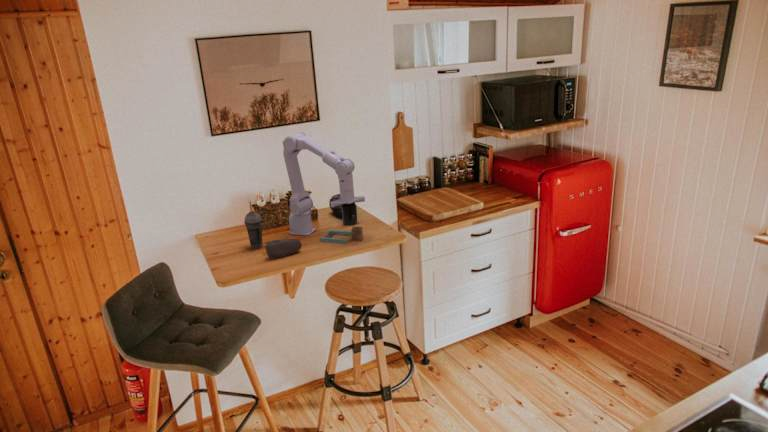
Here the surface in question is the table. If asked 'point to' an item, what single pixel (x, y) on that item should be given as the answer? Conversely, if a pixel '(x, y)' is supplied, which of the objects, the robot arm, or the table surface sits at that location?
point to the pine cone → (336, 207)
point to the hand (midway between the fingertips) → (349, 220)
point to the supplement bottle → (354, 217)
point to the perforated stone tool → (282, 247)
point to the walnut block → (357, 234)
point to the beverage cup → (254, 228)
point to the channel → (331, 233)
